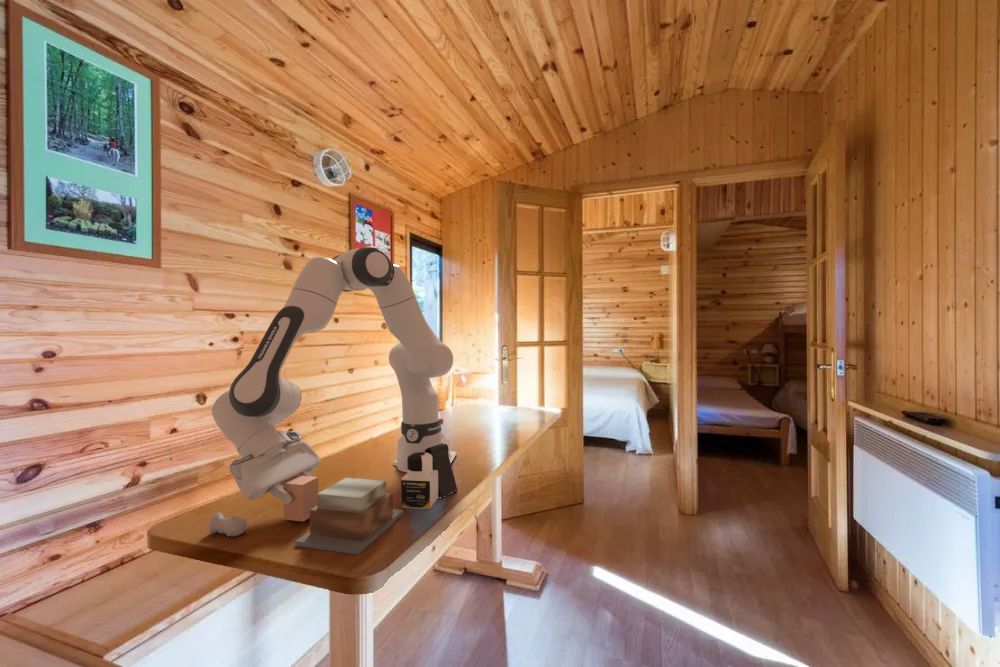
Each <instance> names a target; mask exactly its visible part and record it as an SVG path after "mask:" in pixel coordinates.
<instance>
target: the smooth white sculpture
mask: <svg viewBox="0 0 1000 667" xmlns="http://www.w3.org/2000/svg"><path fill="white" fill-rule="evenodd" d="M211 517H212V518H211V519H210V521H209V524H208V531H209V532H210V534H211V535H212V534H213V533H215V534H217V533H218V532H220V533H224V534H225V536H226V535H228V536H231V537H237V536H240V534H241V535H242V534H243V533H245V532H246V530H247V528H248V520H247V519H245V518H244V517H240V516H236V515H231V516H230V517H224V514H223V513H222V512H217V513H215V514H213V516H211ZM216 532H217V533H216ZM213 535H214V534H213Z"/></svg>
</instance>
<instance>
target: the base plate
mask: <svg viewBox="0 0 1000 667" xmlns="http://www.w3.org/2000/svg"><path fill="white" fill-rule="evenodd" d="M403 515H404V510H403V509H396V508H393V516H391V517H390V518H389V519H388V520H387V521H386V522H384V523H383V524H382V525H381V526H380V527H379V528H377V529H376V530H375V531H374V532H373V533H371V534H370V535H369V536H368V537H367V538H366V539H364V540H363V541H357V540H349V539H341V538H334V537H326V536H318V535H311V534H310V531H308V532H306V533H305V534H304V535H302V536H300V537H299V538H298V539H296V540H295V547H299V548H306V549H307V548H308V549H314V550H323V551H329V552H336V553H344V554H350V555H360V554H361V553H362V552H363V551H365V549H366V548H368V547H369V546H370V545H371V544H372V543H373V542H374V541H375V540H377V539H378V538H379V537H380V536H381V535H382V534H383V533H384V532H385V531H387V530H388V529H389V528H390V527H391V526H392V525H393V524H394V523H396V522H397V521H398V520H399V519H400V518H401V517H403ZM398 518H399V519H398ZM397 519H398V520H397ZM396 520H397V521H396ZM395 521H396V522H395ZM386 529H387V530H386Z"/></svg>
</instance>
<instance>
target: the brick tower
mask: <svg viewBox="0 0 1000 667" xmlns="http://www.w3.org/2000/svg"><path fill="white" fill-rule="evenodd" d="M393 499H394V498H393V492H387V481H386V480H383V479H382V480H379V479H369V478H357V477H347V476H346V477H344V478H343V479H341V480H339V481H337V482H336V483H334V484H332V485H331V486H328V487H326V488H325V489H323V490H322V491H318V494H317V506H316V507H314V508H312V509H310V518H309V532H310V534H311V535H318V536H326V537H334V538H341V539H349V540H357V541H363V540H364V539H366V538H367V537H368V536H369V535H370V534H371V533H373V532H374V531H375V530H376V529H377V528H379V527H380V526H381V525H382V524H383V523H384V522H386V521H387V520H388V519H389V518H390V517H391V516H393V509H394V508H393V504H394V503H393V502H394V500H393Z"/></svg>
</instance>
